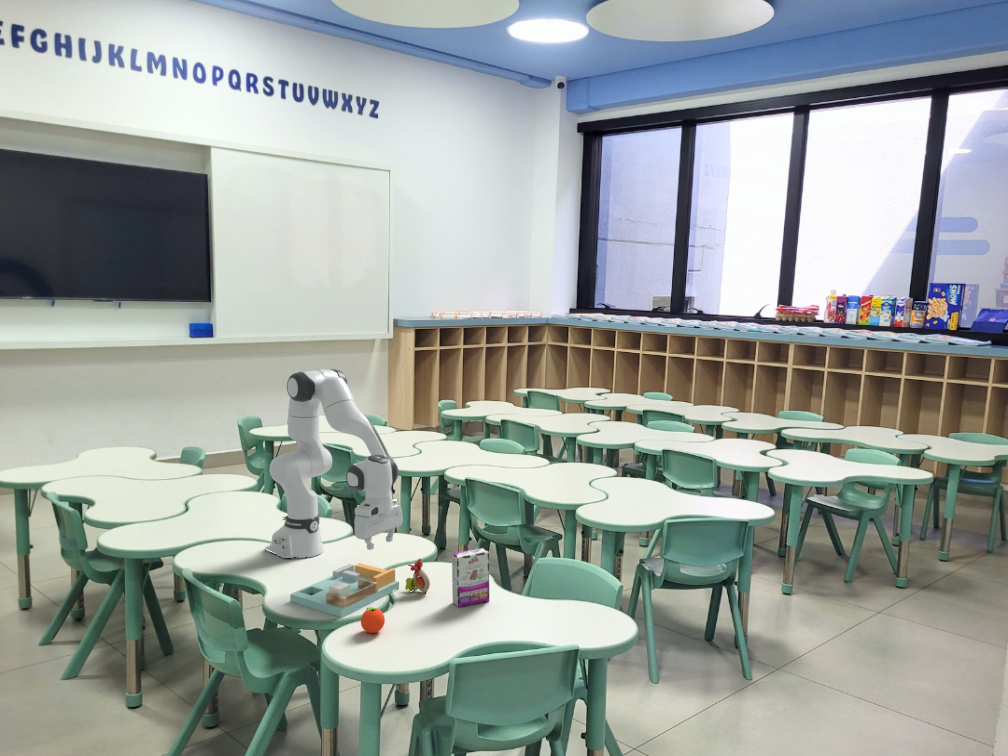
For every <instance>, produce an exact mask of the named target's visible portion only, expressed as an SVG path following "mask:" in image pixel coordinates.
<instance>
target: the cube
mask: <svg viewBox="0 0 1008 756" xmlns="http://www.w3.org/2000/svg"><path fill="white" fill-rule="evenodd" d="M329 592H330V593H333V594H337V595H340V596H343V597H346V596H348V595H350V585H349V584H346V583H342V582H337V583H335V584H333V585H331V586H329Z"/></svg>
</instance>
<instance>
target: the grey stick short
mask: <svg viewBox="0 0 1008 756" xmlns="http://www.w3.org/2000/svg"><path fill="white" fill-rule="evenodd" d="M346 570H348V571H352V572H354V570H355V565H354V564H351V563H348V564H346V565H344V566H341V567H339V568H337V569H334V570H332V576H333V578H337V579H338V578H340V577H342V572H344V571H346Z"/></svg>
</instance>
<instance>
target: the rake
mask: <svg viewBox="0 0 1008 756" xmlns="http://www.w3.org/2000/svg"><path fill="white" fill-rule="evenodd" d="M354 570H355V572H356V573H359V574H360V575H361V576H364V577H368V578H372V579H373V581H374V582H377V583H378V589H380V588H382V587H384V586H386V585H388V584H390V583H392V582H394V581H396V569H395V568H389V569H384V568H380V567H377V566H374V565H368V564H365V563H357V564H355V565H354Z"/></svg>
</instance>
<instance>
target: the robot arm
mask: <svg viewBox="0 0 1008 756" xmlns="http://www.w3.org/2000/svg"><path fill="white" fill-rule="evenodd" d="M286 391H287V394H288V396H289V403H288V410H287V411H288V412H287V434H288V435H287V436H289V438H291V440H293V441H294V442H295V441H296V443H297V450H295V451H290V452H285V453H282V454H280V455H279V456H276V457H274V458H272V460H271V462H270V464H269V474H270V477H271V478H272V479H273V481H275V482H276V483H278V484H279V485H280V487H282V489H283V491H284V493H285V498H286V507H287V509H286V510H287V511H286V512H287V515H286V516H283V517H282V521H284V524H283V525H282V526H281V527H280V528H279V529H277V530H276V531H275V532H274V533H272V536H271V543H270V544H269V545H270V546H268V545H267V546H265V548H266V549H268V550H270V551H272V552H274V553H276V554H277V555H279V556H281V557H283V558H292V559H294V558H293V557H296V558H295V559H305V557H307V558H311V557H316V556H318V555H320V554H322V553H323V552H324V548H323V546H324V542H322V536H321V529H320V514H319V503H318V501H319V500H318V499H319V498H318V495H317V493H316V491H314V490H313V489H311V488H309V487H308V484H307V480H308V479H312V478H315V477H318V476H319V477H320V476H321V475H323V474H326V473H327V472H329V471H330V470H331V469H332V465H333V457H332V454H331V452H330V451H329V449H327V448H326V447H325V446H324V445H323V443H322V441H321V438H320V428H319V427H320V403H321V406H322V410H323V413H324V416H325V419H326V421H327V424H328V425H329V426H330V428H332V429H333V430H334V431H337V432H339V433H342V434H343V433H344V434H347V435H351V436H354V437H357V438H359V439H361V440H362V441H363V442H364V444H365V445H366V446H365V447H366V448H367V450H368V452H369V454H370V455H369V456H366V458H365V459H364V460H363V461H360V462H359V461H358V462H355V463H353V464H351V465H350V466H348V468H347V471H346V475H345V479H346V484H347V486H348V488H350V489H351V490H352V491H354V492H365V499H364V500H363V501H362V502H361V503H360V504H358V505H357V506H356V507H355V508H354V514H355V515H356V516H355V519H354V536H355V537H356V538H357V539H358V540H362V541H363V540H364V542H365V544H366V548H367V550H369V551H371V550H374V548H375V547H374V546H375V544H374V543H372V541H371V540H372V538H373V537H374V536H377V535H380V534H383V533H385V532H387V535H386V536H385V542H387V543H391V542H393V541H394V540H393V536H394V534H395V531H396V528H398V527H400V526H402V524H403V521H404V520H403V510H402V507H401V502H400V500H399V499H398V498H394V499H393V492H392V487H393V486H394V484H396V482H397V480H398V478H399V467H398V464H397V463H396V462H395V459H393V458H392V457H391V455H390V453H389V452H388V450H387V448H386V446H385V444H384V441H383V440H382V438H381V437H380V434H379V432H378V431H377V429H376V427H375V425H374V424H373V422H372V421H371V420H370V418H368V417H367V416H365V415H364V414H363V413H362V412H361V411H360V409H359V408H358V405H357V403H356V401H355V399H354V396H353V394H352V392H351V389H350V388H349V386H348V379H347V376H346V375H345V372H343V371H341V370H339V369H335V368H334V369H333V368H331V369H315V370H307V371H298V372H295V373H292V374H291V375H290V376H289V377H288V379H287V383H286ZM277 555H276V556H277ZM279 556H278V557H279ZM281 557H280V558H281ZM297 557H298V558H297ZM283 558H282V559H283Z"/></svg>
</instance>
